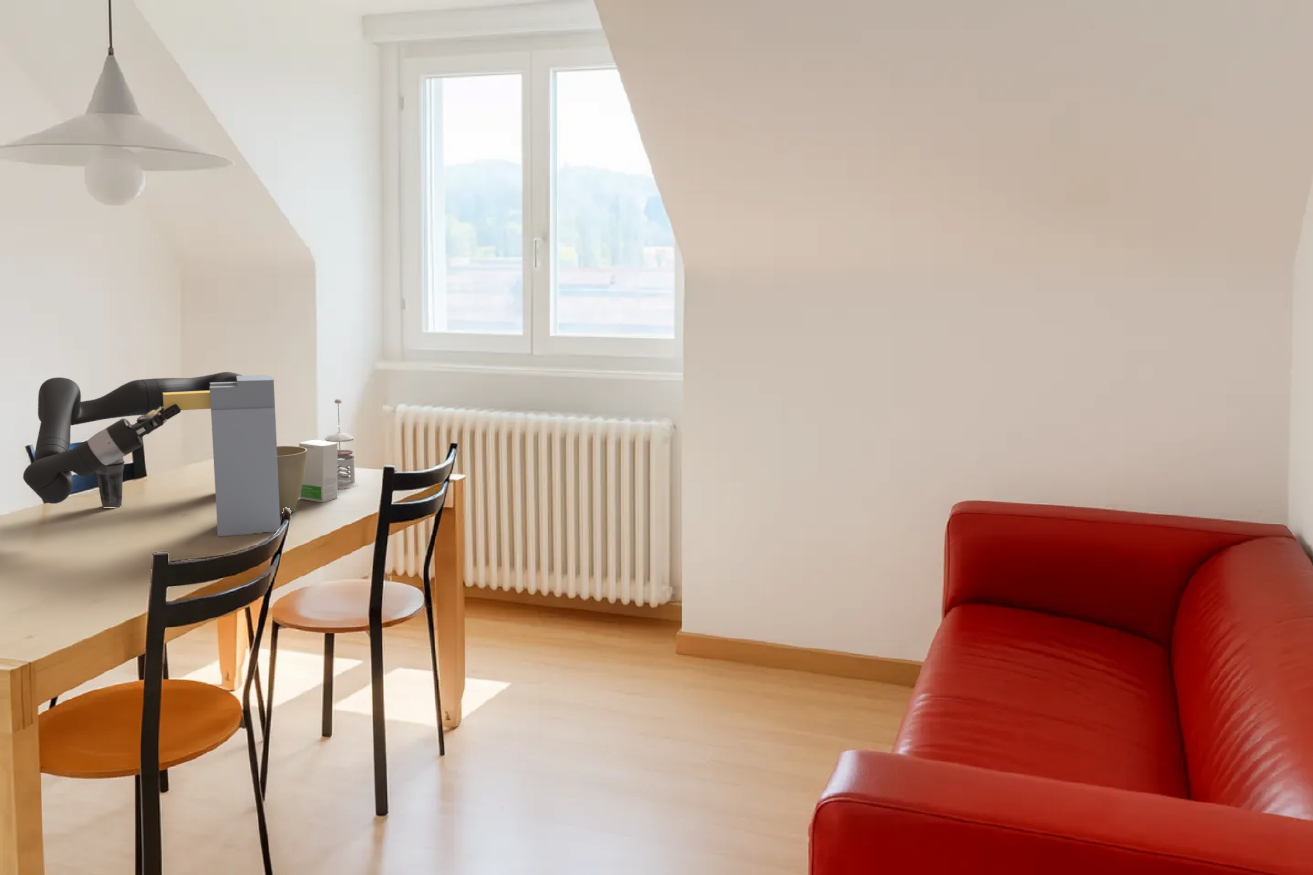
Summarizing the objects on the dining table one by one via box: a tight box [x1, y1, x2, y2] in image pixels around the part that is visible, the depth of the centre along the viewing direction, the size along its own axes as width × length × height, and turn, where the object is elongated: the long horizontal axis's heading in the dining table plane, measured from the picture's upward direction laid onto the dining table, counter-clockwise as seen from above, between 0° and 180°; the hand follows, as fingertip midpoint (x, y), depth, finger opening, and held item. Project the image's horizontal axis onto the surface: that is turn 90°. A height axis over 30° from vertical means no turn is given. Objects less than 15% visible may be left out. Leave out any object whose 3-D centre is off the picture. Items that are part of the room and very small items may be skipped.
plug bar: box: [163, 390, 211, 411], centre depth 260 cm, size 24×4×4 cm, turn 117°
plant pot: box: [277, 445, 307, 515], centre depth 283 cm, size 15×15×16 cm
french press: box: [324, 398, 359, 490], centre depth 314 cm, size 10×12×25 cm
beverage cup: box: [95, 457, 125, 508], centre depth 285 cm, size 7×7×20 cm
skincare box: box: [298, 439, 339, 503], centre depth 298 cm, size 8×7×16 cm
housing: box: [210, 374, 281, 537], centre depth 264 cm, size 14×11×37 cm
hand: (179, 404), depth 257 cm, fingers open, 8 cm apart
